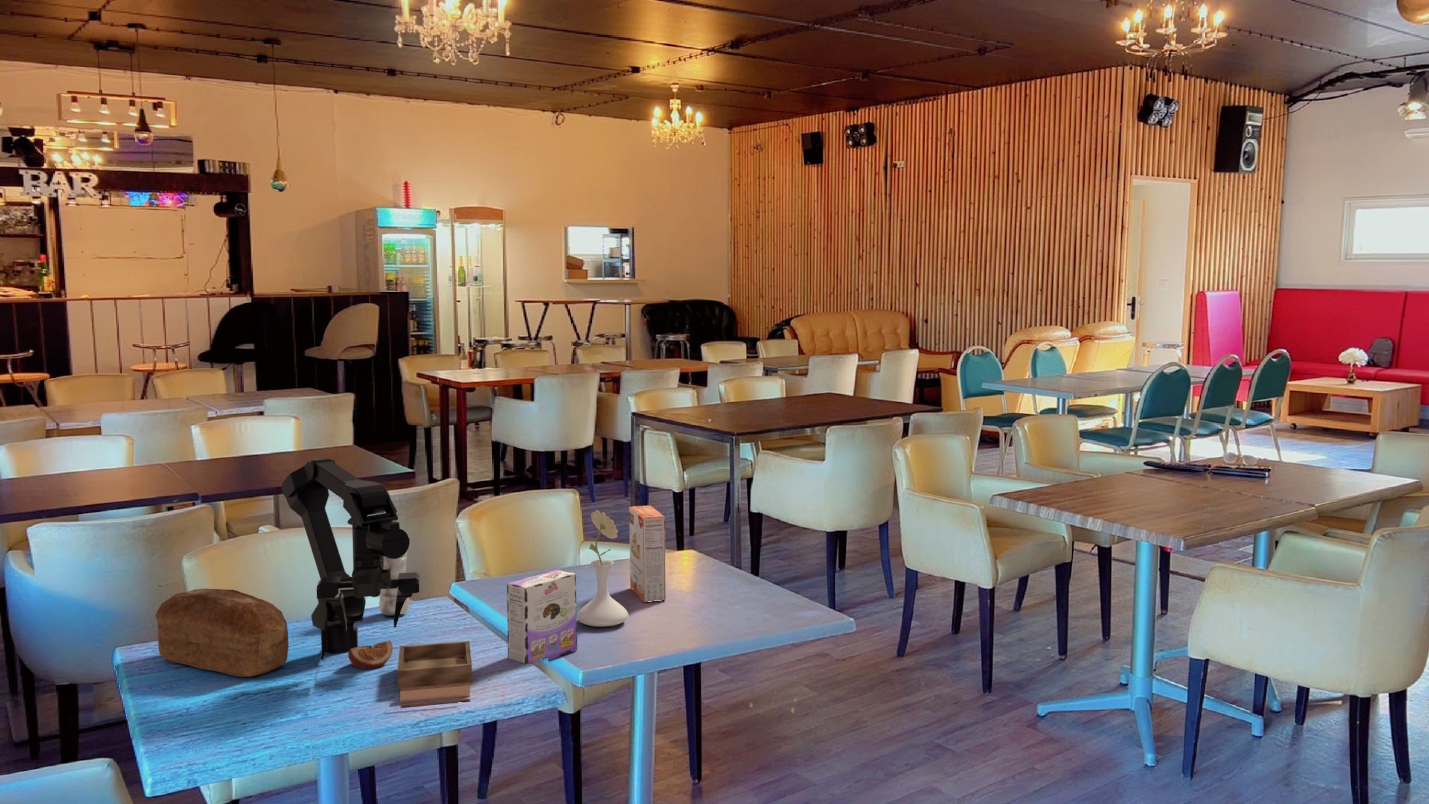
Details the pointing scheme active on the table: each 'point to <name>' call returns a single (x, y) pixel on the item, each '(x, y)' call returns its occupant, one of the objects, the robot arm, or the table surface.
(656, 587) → the cracker box
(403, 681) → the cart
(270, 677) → the table surface
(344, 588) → the robot arm
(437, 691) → the rail track
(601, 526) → the flower in vase
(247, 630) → the bread
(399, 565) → the plastic bottle
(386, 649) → the fruit slice
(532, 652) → the candy box
